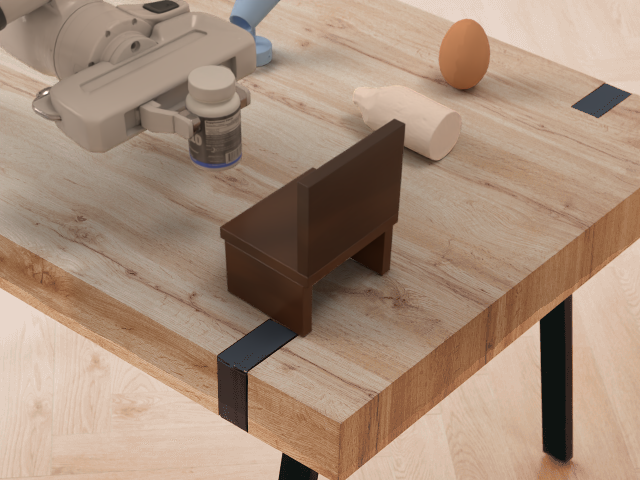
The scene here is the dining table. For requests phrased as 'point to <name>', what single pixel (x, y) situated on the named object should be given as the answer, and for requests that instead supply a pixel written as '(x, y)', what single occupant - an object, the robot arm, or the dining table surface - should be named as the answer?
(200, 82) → the pill bottle
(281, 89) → the dining table surface
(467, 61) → the egg
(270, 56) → the spotlight
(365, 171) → the small wooden chair
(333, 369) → the dining table surface
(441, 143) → the beige bottle
